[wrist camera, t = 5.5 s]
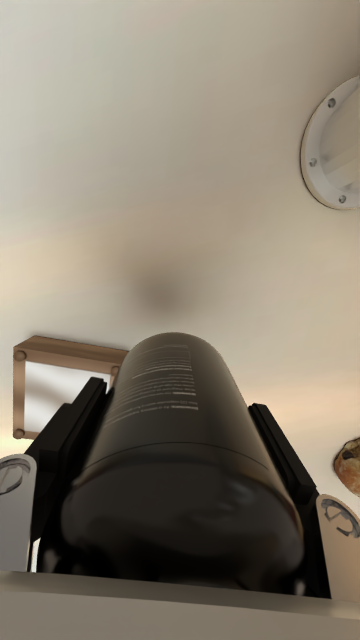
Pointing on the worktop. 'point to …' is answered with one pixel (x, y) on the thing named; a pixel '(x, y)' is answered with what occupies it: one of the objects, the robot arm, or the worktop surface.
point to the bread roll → (349, 466)
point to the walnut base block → (54, 378)
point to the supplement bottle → (176, 483)
